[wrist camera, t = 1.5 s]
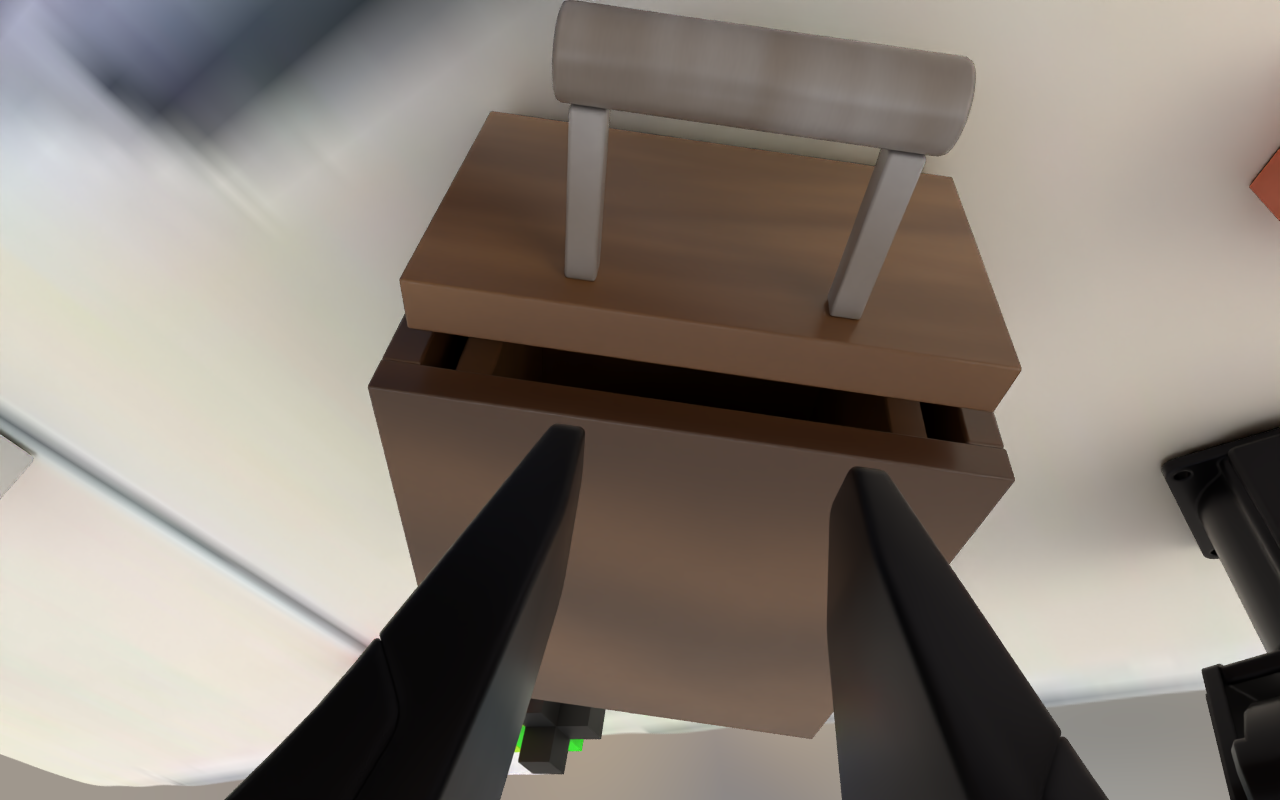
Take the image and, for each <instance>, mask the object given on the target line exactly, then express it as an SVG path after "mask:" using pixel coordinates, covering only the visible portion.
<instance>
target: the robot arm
mask: <svg viewBox="0 0 1280 800" xmlns="http://www.w3.org/2000/svg"><path fill="white" fill-rule="evenodd" d="M584 447H585V430H584V429H583V428H582V427H580V426H573V425H566V424H559V423H557V424H553V425H552V426H550V427H549V428H548V429H547V431H546V432H545V433H544V434H543V436H542V437H541V438H540V439H539V440H538V442H537V443H536V444H535V445H534V446H533V448H532V449H531V450H530V451H529V452H528V454H527V455H526V456H525V457H524V459H523V460H522V461H521V462H520V463H519V465H518V466H517V467H516V468H515V469H514V471H513V472H512V473H511V474H510V476H509V477H508V478H507V479H506V480H505V482H504V483H503V484H502V485H501V486H500V488H499V489H498V490H497V491H496V493H495V494H494V495H493V496H492V497H491V499H490V500H489V501H488V502H487V503H486V505H485V506H484V507H483V508H482V509H481V511H480V512H479V513H478V514H477V516H476V517H475V518H474V519H473V520H472V522H471V523H470V524H469V525H468V526H467V528H466V529H465V530H464V531H463V533H462V534H461V535H460V536H459V537H458V539H457V540H456V541H455V542H454V543H453V545H452V546H451V547H450V548H449V549H448V551H447V552H446V553H445V554H444V556H443V557H442V558H441V559H440V560H439V562H438V563H437V564H436V565H435V566H434V568H433V569H432V570H431V571H430V573H429V574H428V575H427V576H426V577H425V579H424V580H423V581H422V582H421V583H420V585H419V586H418V587H417V588H416V590H415V591H414V592H413V593H412V594H411V596H410V597H409V598H408V599H407V600H406V602H405V603H404V604H403V605H402V606H401V608H400V609H399V610H398V611H397V613H396V614H395V615H394V616H393V617H392V619H391V620H390V621H389V622H388V623H387V625H386V626H385V627H384V628H383V630H382V631H381V632H380V639H381V640H380V639H378V638H376V639H374V640H373V641H372V642H371V644H370V645H369V646H368V647H367V648H366V650H365V651H364V652H363V653H362V655H361V656H360V657H359V658H358V659H357V661H356V662H355V663H354V664H353V665H352V667H351V668H350V669H349V670H348V671H347V672H346V674H345V675H344V676H343V677H342V678H341V679H340V680H339V682H338V683H337V684H336V685H335V686H334V687H333V688H332V690H331V691H330V692H329V693H328V694H327V695H326V696H325V698H324V699H323V700H322V701H321V702H320V703H319V704H318V706H317V707H316V708H315V709H314V710H313V711H312V712H311V713H310V714H309V715H308V716H307V717H306V718H305V719H304V720H303V721H302V722H301V723H300V724H299V725H298V726H297V727H296V728H295V729H294V731H293V732H292V733H291V734H290V735H289V736H288V737H287V738H286V739H285V740H284V741H283V742H282V743H281V744H280V745H279V746H278V747H277V748H276V749H275V750H274V751H273V752H272V753H271V754H270V755H269V756H268V757H267V758H266V759H265V760H264V761H263V762H262V763H261V764H260V765H259V766H258V767H257V768H256V769H255V770H254V771H253V772H252V773H251V774H250V775H249V776H248V777H247V778H246V779H245V780H244V781H243V782H242V783H241V784H240V785H239V786H238V787H237V788H236V789H235V790H234V791H233V792H232V793H231V794H230V795H229V796H228V797H227V798H226V799H225V800H500V798H501V795H502V791H503V788H504V785H505V782H506V778H507V775H508V772H509V768H510V765H511V762H512V758H513V755H514V752H515V748H516V745H517V742H518V739H519V735H520V732H521V729H522V725H523V722H524V719H525V715H526V712H527V709H528V705H529V702H530V699H531V695H532V692H533V689H534V685H535V682H536V679H537V675H538V672H539V669H540V666H541V662H542V659H543V656H544V652H545V649H546V646H547V642H548V639H549V636H550V632H551V629H552V626H553V622H554V619H555V616H556V612H557V609H558V605H559V602H560V598H561V594H562V590H563V585H564V580H565V576H566V570H567V564H568V558H569V552H570V547H571V541H572V535H573V529H574V523H575V517H576V511H577V505H578V499H579V494H580V488H581V482H582V474H583V463H584ZM1161 471H1162V473H1163V475H1164V477H1165V479H1166V482H1167V484H1168V486H1169V488H1170V490H1171V492H1172V494H1173V496H1174V497H1175V499H1176V501H1177V503H1178V505H1179V507H1180V509H1181V511H1182V513H1183V515H1184V517H1185V519H1186V521H1187V523H1188V525H1189V527H1190V529H1191V531H1192V533H1193V535H1194V537H1195V539H1196V541H1197V543H1198V545H1199V547H1200V549H1201V551H1202V553H1203V555H1204V556H1205V557H1206V558H1209V559H1218V558H1219V559H1220V560H1221V562H1222V564H1223V566H1224V568H1225V570H1226V572H1227V574H1228V576H1229V578H1230V580H1231V582H1232V584H1233V586H1234V588H1235V590H1236V592H1237V594H1238V596H1239V598H1240V600H1241V602H1242V604H1243V606H1244V608H1245V610H1246V612H1247V614H1248V616H1249V618H1250V620H1251V622H1252V624H1253V626H1254V628H1255V630H1256V632H1257V634H1258V636H1259V638H1260V640H1261V642H1262V644H1263V646H1264V648H1265V650H1266V652H1267V653H1266V654H1263V655H1259V656H1256V657H1252V658H1249V659H1245V660H1242V661H1238V662H1235V663H1232V664H1228V665H1225V666H1223V665H1221V664H1217V665H1213V666H1210V667H1207V668H1203V669H1202V675H1203V679H1204V683H1205V688H1206V691H1207V694H1206V700H1207V704H1208V708H1209V712H1210V716H1211V720H1212V725H1213V729H1214V733H1215V737H1216V741H1217V745H1218V750H1219V754H1220V758H1221V762H1222V766H1223V770H1224V775H1225V779H1226V783H1227V787H1228V791H1229V795H1230V800H1280V428H1277V429H1274V430H1270V431H1267V432H1263V433H1260V434H1257V435H1253V436H1250V437H1246V438H1243V439H1240V440H1236V441H1233V442H1229V443H1226V444H1223V445H1219V446H1216V447H1212V448H1209V449H1206V450H1202V451H1199V452H1196V453H1192V454H1189V455H1185V456H1182V457H1179V458H1175V459H1172V460H1170V461H1168V462H1166V463H1165V464H1164V465H1163V466H1162V468H1161ZM827 641H828V654H829V665H830V676H831V687H832V697H833V708H834V719H835V729H836V740H837V750H838V762H839V773H840V783H841V793H842V800H1109V799H1108V798H1107V796H1106V795H1105V794H1104V792H1103V791H1102V789H1101V788H1100V786H1099V785H1098V784H1097V782H1096V781H1095V779H1094V778H1093V777H1092V775H1091V774H1090V772H1089V771H1088V770H1087V768H1086V766H1085V765H1084V763H1083V762H1082V760H1081V759H1080V757H1079V756H1078V755H1077V753H1076V752H1075V750H1074V749H1073V747H1072V746H1071V744H1070V743H1069V741H1068V740H1067V739H1066V738H1065V737H1060V736H1061V730H1060V728H1059V727H1058V725H1057V724H1056V722H1055V721H1054V719H1053V718H1052V716H1051V715H1050V713H1049V712H1048V710H1047V709H1046V707H1045V706H1044V705H1043V703H1042V702H1041V700H1040V699H1039V697H1038V696H1037V694H1036V693H1035V691H1034V690H1033V688H1032V687H1031V685H1030V684H1029V682H1028V681H1027V679H1026V678H1025V676H1024V675H1023V673H1022V672H1021V670H1020V669H1019V667H1018V666H1017V664H1016V663H1015V661H1014V660H1013V658H1012V657H1011V656H1010V654H1009V653H1008V651H1007V650H1006V648H1005V647H1004V645H1003V644H1002V642H1001V641H1000V639H999V638H998V636H997V635H996V633H995V632H994V630H993V629H992V627H991V626H990V624H989V623H988V621H987V620H986V618H985V617H984V615H983V614H982V612H981V611H980V609H979V608H978V607H977V605H976V604H975V602H974V601H973V599H972V598H971V596H970V595H969V593H968V592H967V590H966V589H965V587H964V586H963V584H962V583H961V581H960V580H959V578H958V577H957V575H956V574H955V572H954V571H953V569H952V568H951V566H950V565H949V563H948V562H947V560H946V559H945V558H944V556H943V555H942V553H941V552H940V550H939V549H938V547H937V546H936V544H935V543H934V541H933V540H932V538H931V537H930V535H929V534H928V532H927V531H926V529H925V528H924V526H923V525H922V523H921V522H920V520H919V519H918V517H917V516H916V514H915V513H914V512H913V510H912V509H911V507H910V506H909V504H908V503H907V501H906V500H905V498H904V497H903V495H902V494H901V492H900V491H899V489H898V488H897V486H896V485H895V483H894V482H893V480H892V479H891V477H890V476H889V475H888V474H887V473H886V472H885V471H883V470H880V469H874V468H867V467H860V466H855V467H852V468H851V469H850V470H849V472H848V473H847V475H846V477H845V479H844V481H843V483H842V485H841V487H840V489H839V491H838V493H837V495H836V497H835V499H834V501H833V504H832V507H831V511H830V519H829V552H828V589H827Z"/></svg>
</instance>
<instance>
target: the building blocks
mask: <svg viewBox="0 0 1280 800" xmlns="http://www.w3.org/2000/svg"><path fill="white" fill-rule="evenodd" d="M604 716H605V709H601V708H594V707H587V706H580V705H573V704H566V703H559V702H553V701H546V700H539V699H532V698H531V699H530V702H529V705H528V709H527V712H526V715H525V719H524V722H523V725H522V729H521V732H520V735H519V739H518V742H517V745H516V748H515V752H514V755H513V758H512V762H511V765H510V768H509V772H508V774H564V770H565V765H566V759H567V753H568V751H582V746H583V740H584V739H601V736H602V729H603V722H604Z"/></svg>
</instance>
